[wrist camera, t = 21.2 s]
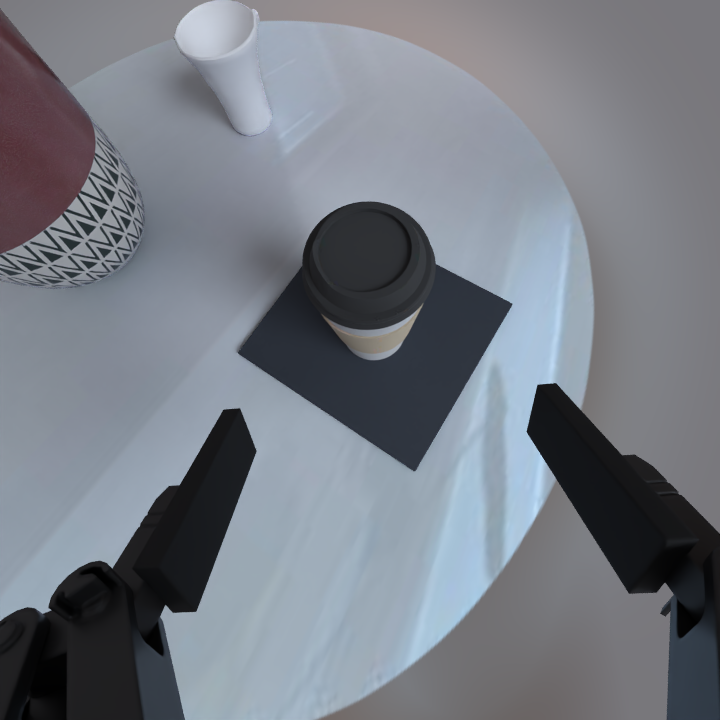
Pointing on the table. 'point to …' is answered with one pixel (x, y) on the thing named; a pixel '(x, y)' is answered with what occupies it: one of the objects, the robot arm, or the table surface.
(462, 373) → the mat
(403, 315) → the coffee cup
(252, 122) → the cup
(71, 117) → the planter
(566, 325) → the table surface
